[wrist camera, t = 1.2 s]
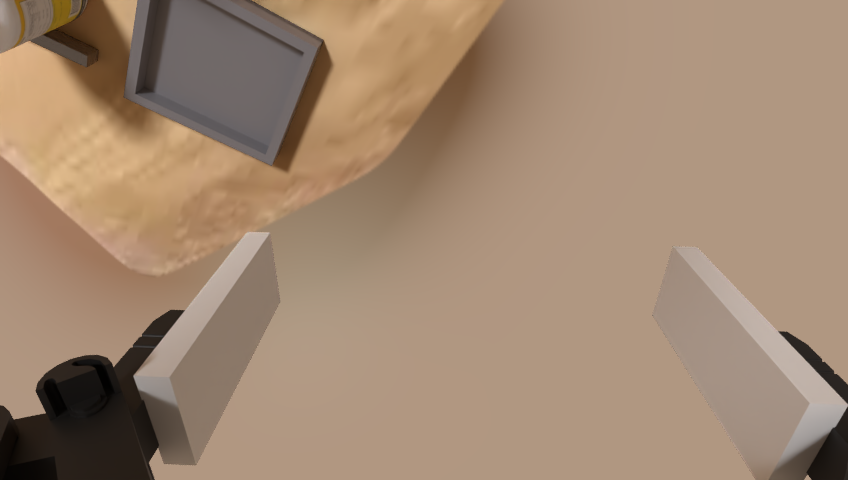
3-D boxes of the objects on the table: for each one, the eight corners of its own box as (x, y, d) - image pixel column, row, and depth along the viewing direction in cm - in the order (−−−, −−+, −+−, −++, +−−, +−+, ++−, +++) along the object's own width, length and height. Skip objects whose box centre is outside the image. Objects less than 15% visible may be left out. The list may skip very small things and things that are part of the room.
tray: (158, -51, 34) (144, -46, 33) (323, 40, 38) (317, 48, 36) (136, 88, 41) (123, 97, 39) (278, 154, 44) (271, 165, 43)
